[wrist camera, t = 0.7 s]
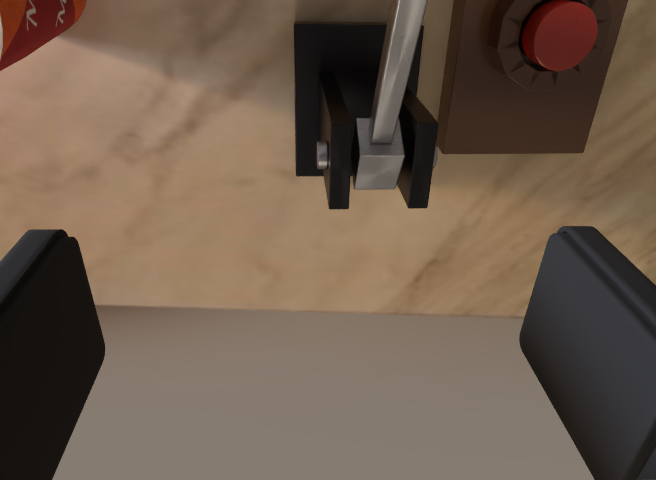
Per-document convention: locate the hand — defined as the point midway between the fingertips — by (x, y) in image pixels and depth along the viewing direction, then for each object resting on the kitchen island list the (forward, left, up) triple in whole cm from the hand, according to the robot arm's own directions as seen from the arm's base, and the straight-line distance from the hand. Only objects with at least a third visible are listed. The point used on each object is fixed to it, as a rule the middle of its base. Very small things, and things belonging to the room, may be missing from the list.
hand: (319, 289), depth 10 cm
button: (-2, +15, -22) cm, 27 cm away
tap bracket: (+3, +4, -26) cm, 26 cm away
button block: (0, +15, -26) cm, 30 cm away
